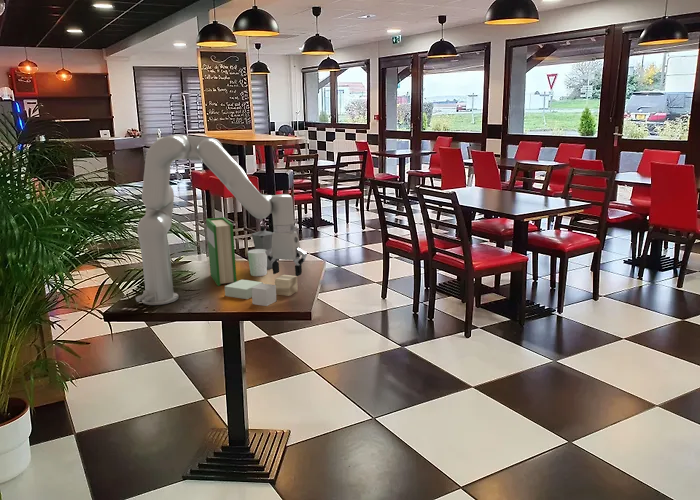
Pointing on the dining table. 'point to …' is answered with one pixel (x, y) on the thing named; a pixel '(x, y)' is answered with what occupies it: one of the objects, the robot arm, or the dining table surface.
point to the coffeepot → (263, 242)
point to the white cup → (257, 262)
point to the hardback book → (221, 250)
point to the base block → (241, 289)
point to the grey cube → (264, 294)
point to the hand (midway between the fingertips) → (287, 274)
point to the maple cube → (286, 285)
